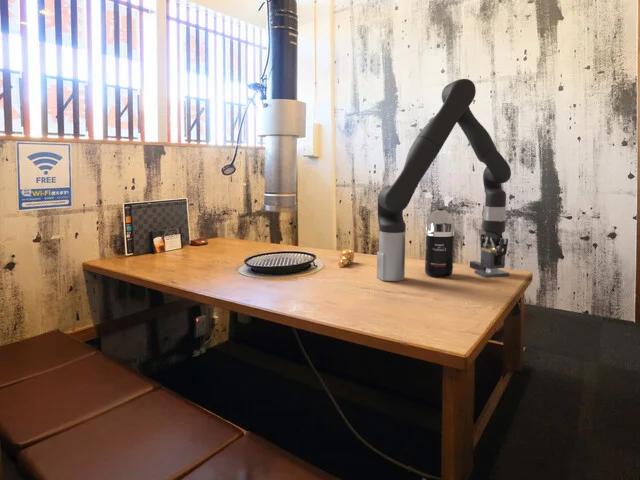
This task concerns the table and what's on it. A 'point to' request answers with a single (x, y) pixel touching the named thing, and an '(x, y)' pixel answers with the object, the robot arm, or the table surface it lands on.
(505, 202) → the robot arm
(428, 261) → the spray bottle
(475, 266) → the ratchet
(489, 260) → the khaki matte cube
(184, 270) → the table surface
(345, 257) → the figurine
